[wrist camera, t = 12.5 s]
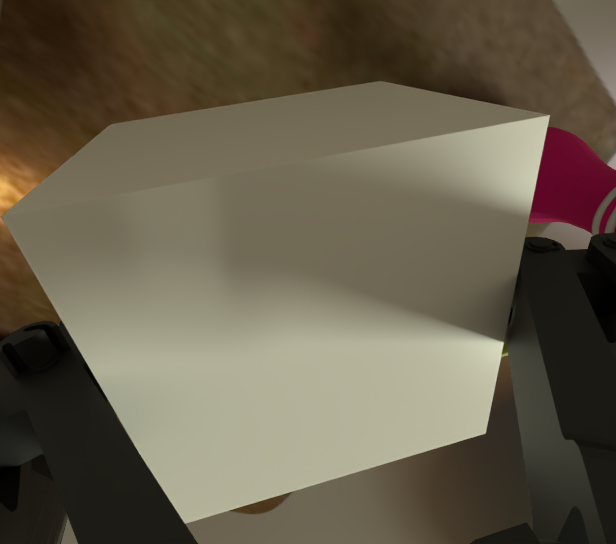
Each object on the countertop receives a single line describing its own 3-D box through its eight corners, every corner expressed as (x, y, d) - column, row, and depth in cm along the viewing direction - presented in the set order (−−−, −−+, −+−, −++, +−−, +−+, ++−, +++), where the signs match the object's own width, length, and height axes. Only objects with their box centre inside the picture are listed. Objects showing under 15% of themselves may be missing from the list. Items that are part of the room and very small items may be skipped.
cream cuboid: (190, 339, 19) (181, 524, 12) (110, 124, 14) (1, 216, 6) (383, 292, 20) (485, 433, 13) (380, 80, 15) (549, 115, 8)
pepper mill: (548, 118, 33) (901, 192, 16) (523, 198, 37) (790, 327, 20) (474, 118, 32) (778, 201, 15) (455, 202, 35) (683, 345, 19)
